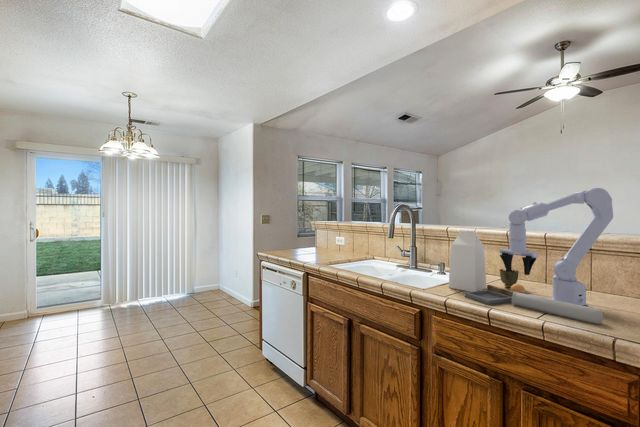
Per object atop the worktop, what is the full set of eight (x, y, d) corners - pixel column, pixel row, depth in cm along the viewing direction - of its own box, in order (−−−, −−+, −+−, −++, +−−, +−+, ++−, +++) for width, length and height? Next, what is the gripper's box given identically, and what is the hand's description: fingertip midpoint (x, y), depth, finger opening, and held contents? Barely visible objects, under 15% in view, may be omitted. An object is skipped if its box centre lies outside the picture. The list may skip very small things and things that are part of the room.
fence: (528, 303, 117) (528, 295, 117) (525, 303, 116) (525, 295, 116) (489, 291, 134) (489, 284, 134) (487, 292, 133) (487, 285, 133)
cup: (513, 285, 144) (513, 268, 144) (522, 289, 137) (522, 271, 137) (496, 285, 145) (496, 268, 145) (504, 289, 138) (504, 271, 138)
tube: (607, 310, 96) (519, 292, 117) (601, 308, 94) (512, 290, 114) (605, 328, 96) (517, 306, 116) (599, 326, 93) (510, 304, 113)
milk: (448, 287, 142) (448, 230, 142) (459, 283, 150) (459, 229, 150) (475, 292, 133) (475, 231, 133) (486, 287, 141) (486, 230, 141)
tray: (513, 302, 118) (513, 297, 118) (488, 305, 115) (488, 300, 115) (488, 294, 130) (488, 290, 130) (464, 296, 126) (464, 292, 126)
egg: (528, 297, 125) (528, 284, 125) (518, 298, 124) (518, 285, 124) (516, 294, 130) (516, 282, 130) (507, 295, 128) (507, 283, 128)
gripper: (542, 240, 122) (542, 275, 122) (507, 238, 135) (507, 269, 135) (530, 241, 119) (530, 277, 119) (496, 238, 132) (496, 270, 132)
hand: (517, 273), depth 127 cm, fingers open, 7 cm apart
